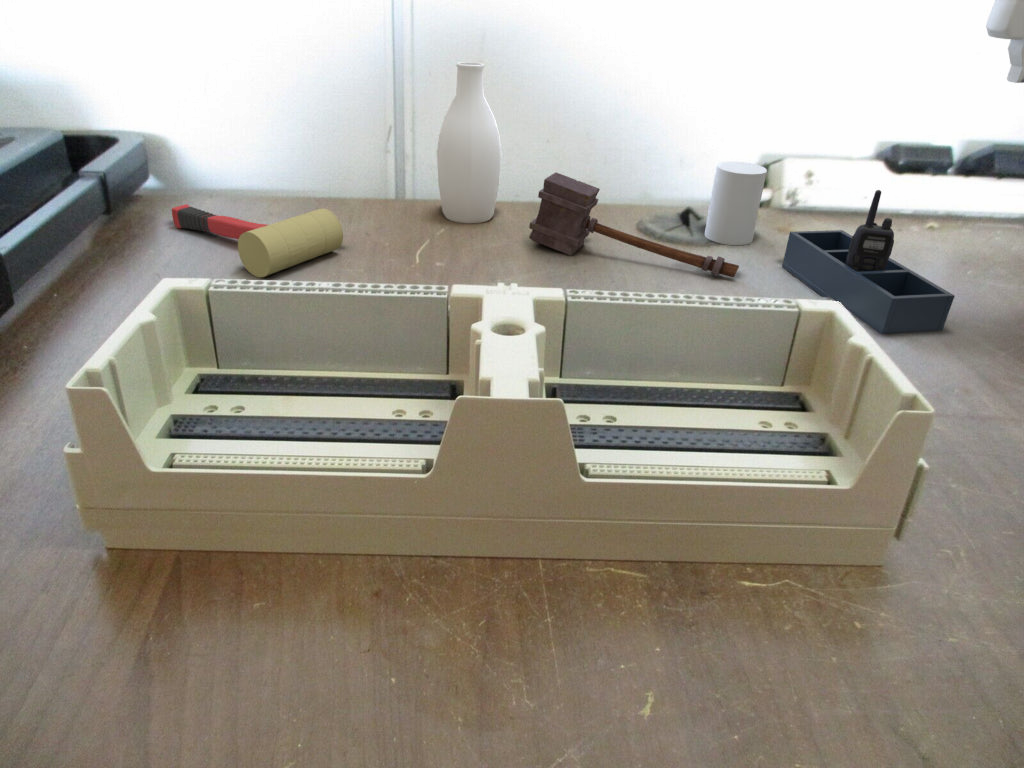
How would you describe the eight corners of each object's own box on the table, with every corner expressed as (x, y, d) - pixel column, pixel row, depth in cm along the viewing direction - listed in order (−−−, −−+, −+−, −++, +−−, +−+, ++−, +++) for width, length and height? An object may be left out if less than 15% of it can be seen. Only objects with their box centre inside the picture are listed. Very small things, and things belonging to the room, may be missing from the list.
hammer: (540, 226, 129) (555, 169, 123) (725, 299, 121) (750, 242, 116) (524, 238, 123) (539, 179, 118) (717, 315, 116) (742, 256, 110)
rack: (833, 264, 123) (842, 230, 120) (940, 335, 101) (955, 295, 99) (781, 266, 121) (789, 231, 118) (879, 339, 100) (892, 298, 97)
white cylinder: (762, 242, 131) (777, 172, 125) (722, 247, 128) (736, 175, 122) (733, 227, 137) (746, 160, 131) (695, 231, 135) (707, 162, 129)
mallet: (145, 246, 122) (273, 281, 107) (135, 205, 119) (265, 236, 104) (219, 224, 132) (345, 253, 118) (211, 186, 129) (340, 211, 115)
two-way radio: (838, 295, 110) (867, 191, 102) (835, 283, 113) (862, 182, 106) (879, 300, 108) (911, 195, 101) (874, 288, 112) (905, 187, 105)
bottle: (464, 230, 130) (465, 70, 117) (424, 213, 137) (422, 61, 124) (512, 218, 137) (518, 65, 124) (472, 202, 144) (474, 57, 131)
